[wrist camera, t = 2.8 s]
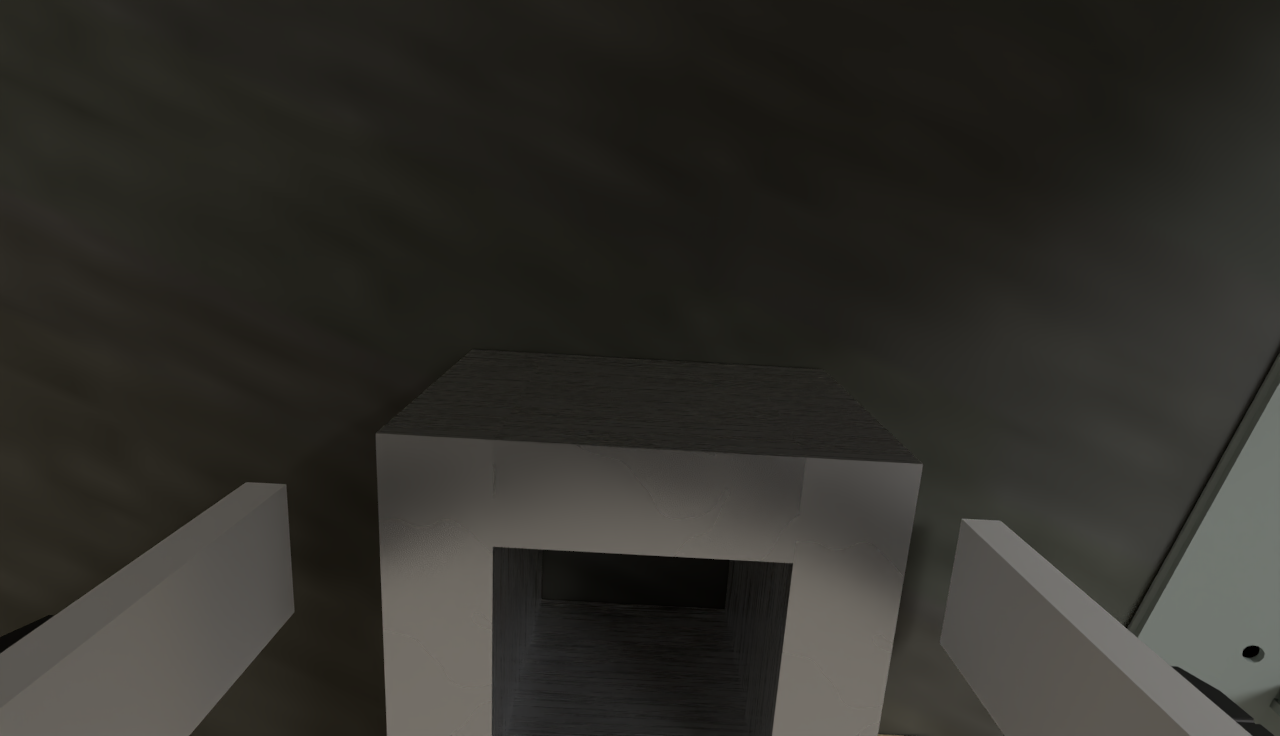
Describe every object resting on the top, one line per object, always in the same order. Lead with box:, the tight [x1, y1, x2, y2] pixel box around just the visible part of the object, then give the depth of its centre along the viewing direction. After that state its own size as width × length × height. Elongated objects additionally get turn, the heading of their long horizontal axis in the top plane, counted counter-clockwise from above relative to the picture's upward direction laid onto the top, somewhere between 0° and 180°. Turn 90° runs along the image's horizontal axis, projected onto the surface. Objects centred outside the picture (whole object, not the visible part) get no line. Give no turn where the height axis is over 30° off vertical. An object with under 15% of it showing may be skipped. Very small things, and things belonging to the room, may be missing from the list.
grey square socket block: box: [375, 349, 923, 736], centre depth 12 cm, size 7×7×5 cm
